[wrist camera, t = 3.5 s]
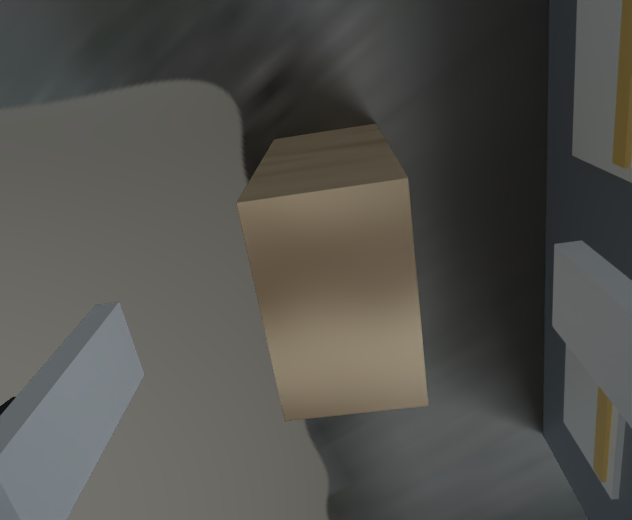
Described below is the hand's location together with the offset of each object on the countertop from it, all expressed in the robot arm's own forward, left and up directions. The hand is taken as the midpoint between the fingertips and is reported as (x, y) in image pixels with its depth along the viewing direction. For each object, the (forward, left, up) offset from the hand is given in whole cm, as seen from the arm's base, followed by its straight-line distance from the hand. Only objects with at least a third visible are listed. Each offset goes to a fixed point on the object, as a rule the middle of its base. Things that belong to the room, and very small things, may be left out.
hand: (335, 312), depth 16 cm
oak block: (0, 0, -12) cm, 12 cm away
